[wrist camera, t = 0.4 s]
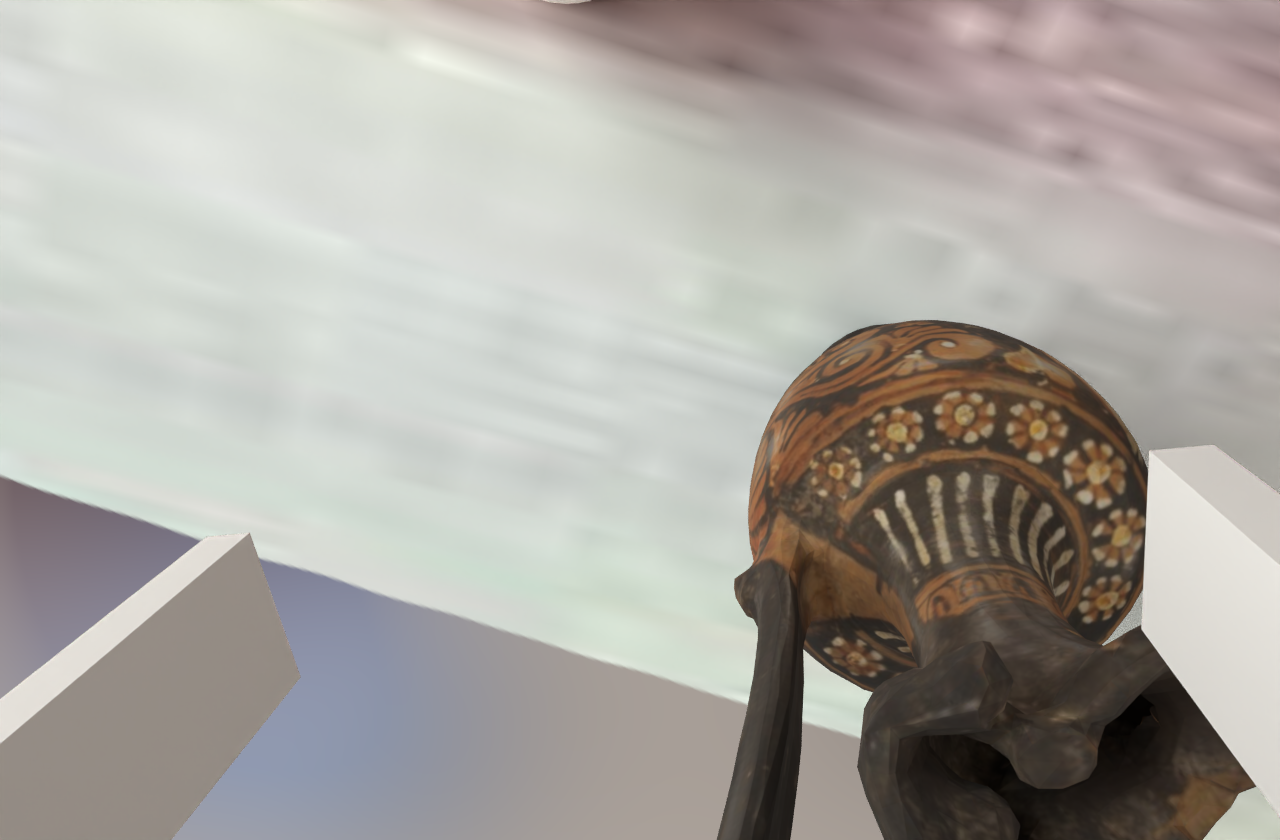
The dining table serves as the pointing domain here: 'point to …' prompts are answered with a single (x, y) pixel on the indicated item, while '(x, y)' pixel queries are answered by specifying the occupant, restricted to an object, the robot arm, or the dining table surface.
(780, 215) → the dining table surface
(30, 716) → the robot arm
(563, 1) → the mug
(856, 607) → the vase
